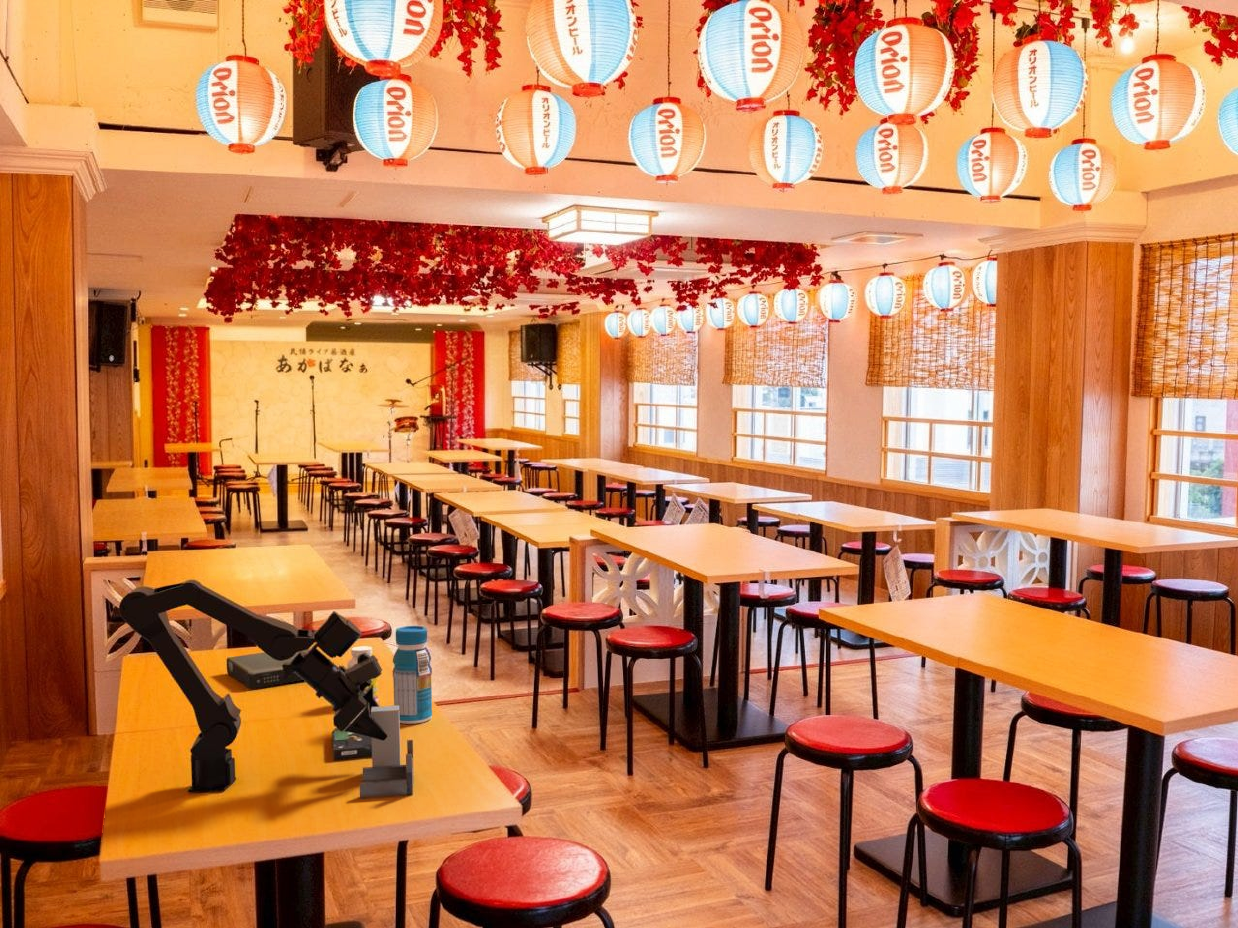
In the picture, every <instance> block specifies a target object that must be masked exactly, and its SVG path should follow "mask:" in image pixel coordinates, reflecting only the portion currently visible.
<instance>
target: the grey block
mask: <svg viewBox="0 0 1238 928" xmlns="http://www.w3.org/2000/svg"><path fill="white" fill-rule="evenodd" d="M379 706H380V705H379ZM371 716H372V717H373V718H374V720H375V721H376V722H377V723H378V724H379V726H380V727H381V728H382V729H383V730H384V732H385V733H386V734H387V738H386V739H385V740H384V741H383V740H379V739H375V738H372V757H371V765H372V766H371V767H378V766H392V765H402V762H401V759H402V758H401V757H402V756H401V723H400V716H399V705H397V706H394V705H384V706H380V707H372V709H371Z"/></svg>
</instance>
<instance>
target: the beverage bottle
mask: <svg viewBox="0 0 1238 928" xmlns="http://www.w3.org/2000/svg"><path fill="white" fill-rule="evenodd" d="M427 629H428V628H427V627H426V626H421V625H406V626H402V627H398V628H396V629H395V643H396V646H398V648H397V649H396V651H395V652H394V655H393V657H392V663H393V666H394V667H393V669H392V679H393V706H397V705H399V716H400V724H405V725H412V724H413V725H416V724H421V723H425V722H428V721H430V720H431V719H432V717H433V702H432V701H433V695H432V693H433V692H432V689H433V687H432V683H433V682H432V674H433V668H432V666H431V661H432V657H431V653H430V651H429V649H428V648H427V646H426V644H427V643H428V630H427Z"/></svg>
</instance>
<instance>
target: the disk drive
mask: <svg viewBox="0 0 1238 928" xmlns="http://www.w3.org/2000/svg"><path fill="white" fill-rule="evenodd" d="M344 730H345V729H344ZM344 730H343V731H342V732H341V731H340V730H339V729H338V728H336V727H335V728H333V729H332V731H331V744H332V751H333V761H335V762H336V761H345V760H354V759H363V758H372V737H368V736H364V735H361V734H357V733H352V732H345V731H344Z"/></svg>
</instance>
